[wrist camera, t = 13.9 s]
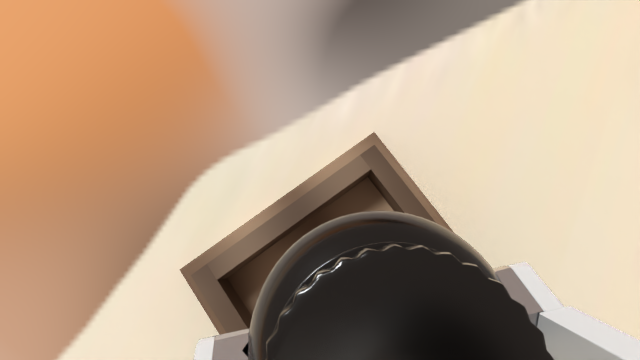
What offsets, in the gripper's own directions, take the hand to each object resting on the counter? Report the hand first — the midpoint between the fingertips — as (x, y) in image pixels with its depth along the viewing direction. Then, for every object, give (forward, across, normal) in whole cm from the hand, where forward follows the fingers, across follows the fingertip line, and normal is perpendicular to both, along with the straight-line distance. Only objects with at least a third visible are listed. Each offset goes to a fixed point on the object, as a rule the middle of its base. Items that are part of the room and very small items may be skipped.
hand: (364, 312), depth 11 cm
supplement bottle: (+4, 0, +5) cm, 7 cm away
